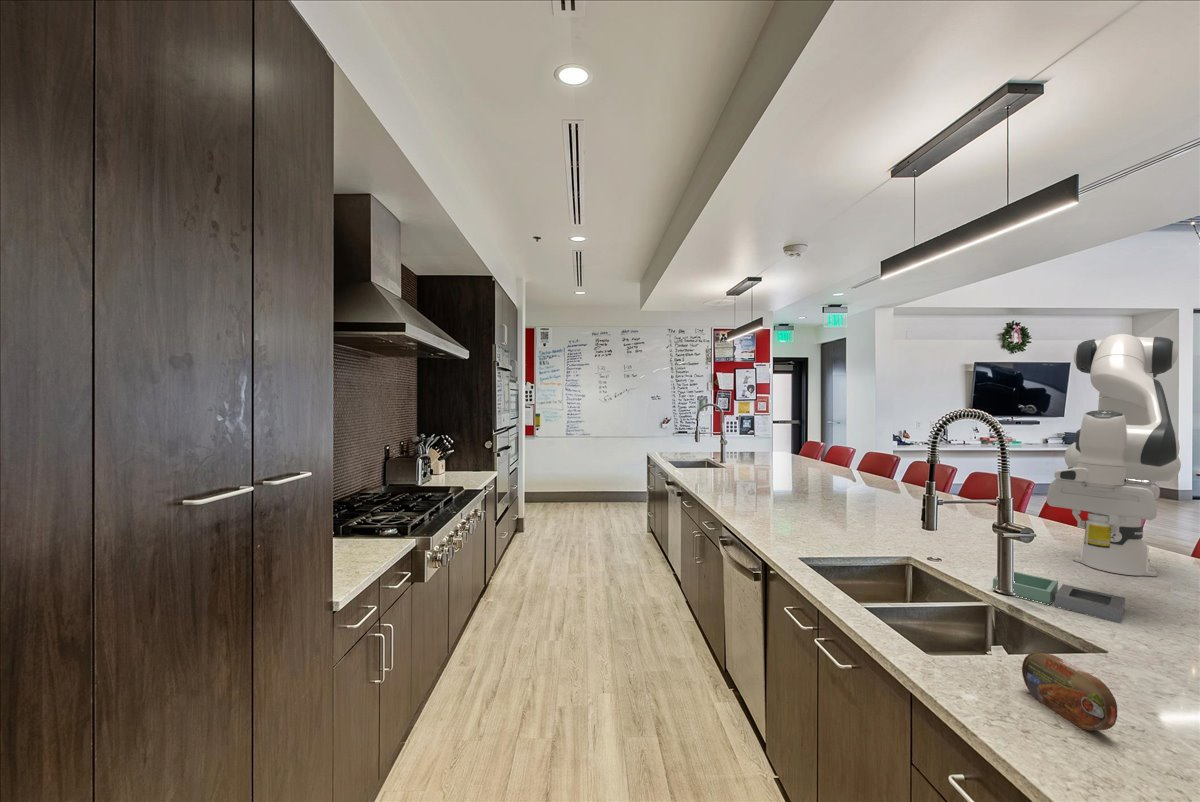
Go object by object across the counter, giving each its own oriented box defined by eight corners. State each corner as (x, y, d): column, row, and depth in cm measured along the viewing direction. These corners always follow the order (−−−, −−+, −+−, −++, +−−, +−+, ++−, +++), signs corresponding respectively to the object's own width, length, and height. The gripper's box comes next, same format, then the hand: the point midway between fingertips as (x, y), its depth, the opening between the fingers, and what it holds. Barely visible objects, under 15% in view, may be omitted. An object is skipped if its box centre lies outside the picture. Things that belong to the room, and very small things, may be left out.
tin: (1019, 688, 99) (1021, 643, 99) (1035, 688, 99) (1037, 643, 99) (1102, 743, 84) (1105, 690, 84) (1120, 742, 84) (1123, 689, 84)
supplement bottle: (1114, 551, 133) (1116, 517, 133) (1092, 549, 134) (1094, 515, 134) (1100, 546, 138) (1102, 513, 137) (1079, 544, 139) (1081, 511, 138)
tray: (1003, 581, 155) (1003, 569, 155) (1057, 593, 146) (1058, 581, 146) (992, 591, 147) (993, 578, 146) (1049, 605, 138) (1050, 592, 138)
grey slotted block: (1062, 595, 145) (1062, 584, 145) (1124, 609, 136) (1125, 597, 136) (1054, 606, 137) (1055, 595, 137) (1120, 623, 128) (1121, 610, 128)
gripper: (1160, 480, 130) (1157, 537, 130) (1051, 469, 145) (1048, 520, 145) (1160, 483, 126) (1156, 542, 126) (1046, 471, 141) (1044, 524, 141)
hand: (1097, 530), depth 136 cm, fingers closed on supplement bottle, 5 cm apart
